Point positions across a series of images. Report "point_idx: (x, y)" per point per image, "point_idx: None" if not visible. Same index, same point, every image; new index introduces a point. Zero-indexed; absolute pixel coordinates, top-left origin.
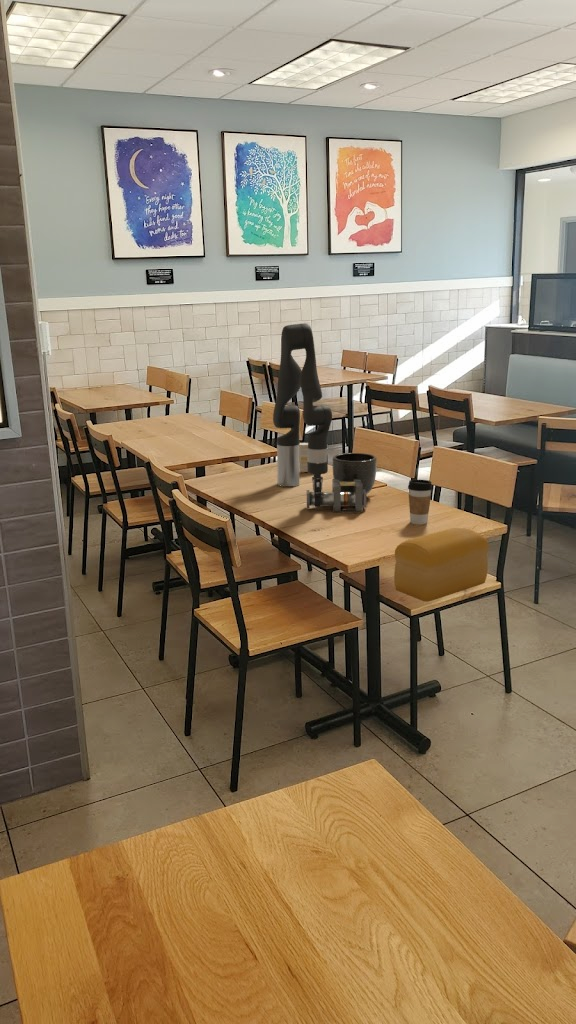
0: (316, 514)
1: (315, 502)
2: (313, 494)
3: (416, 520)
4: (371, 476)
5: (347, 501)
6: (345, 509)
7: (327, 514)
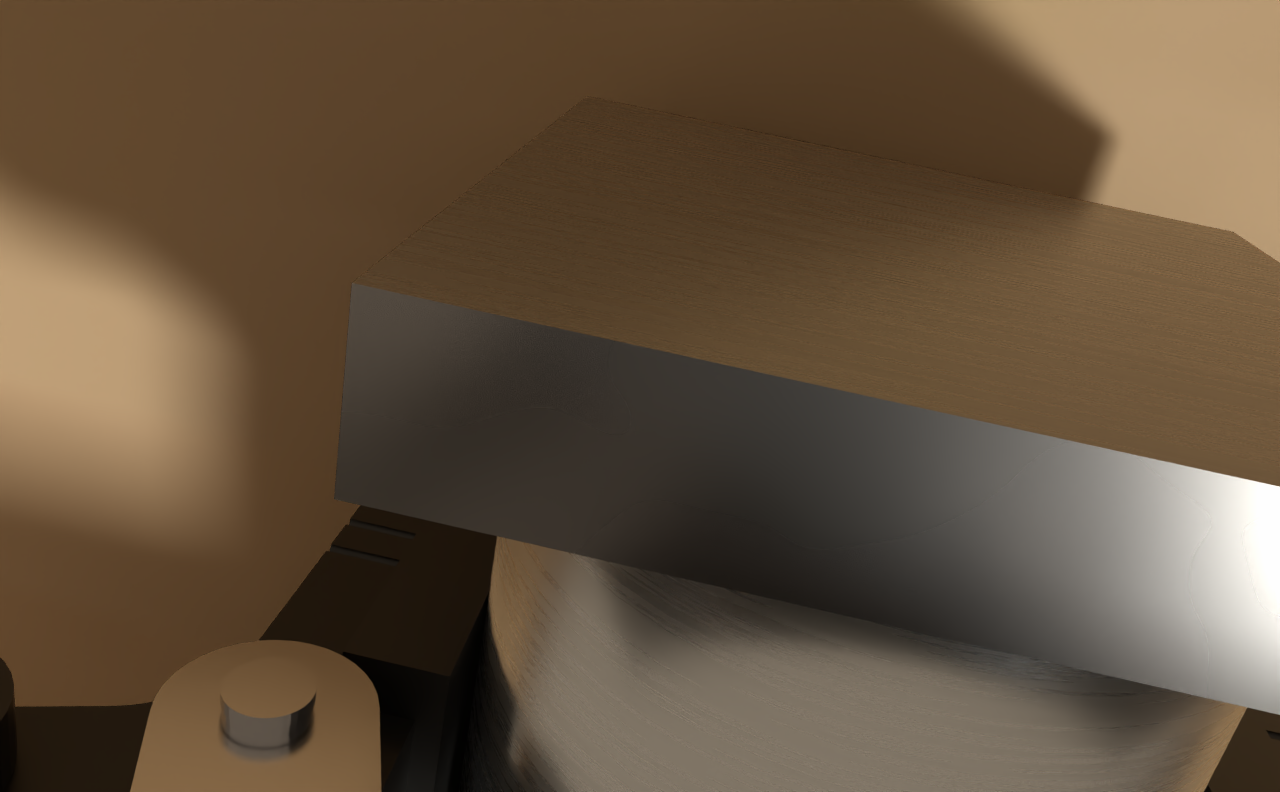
0: (116, 306)
1: (440, 531)
2: (626, 731)
3: None
4: None
5: None
6: None
7: (111, 605)
